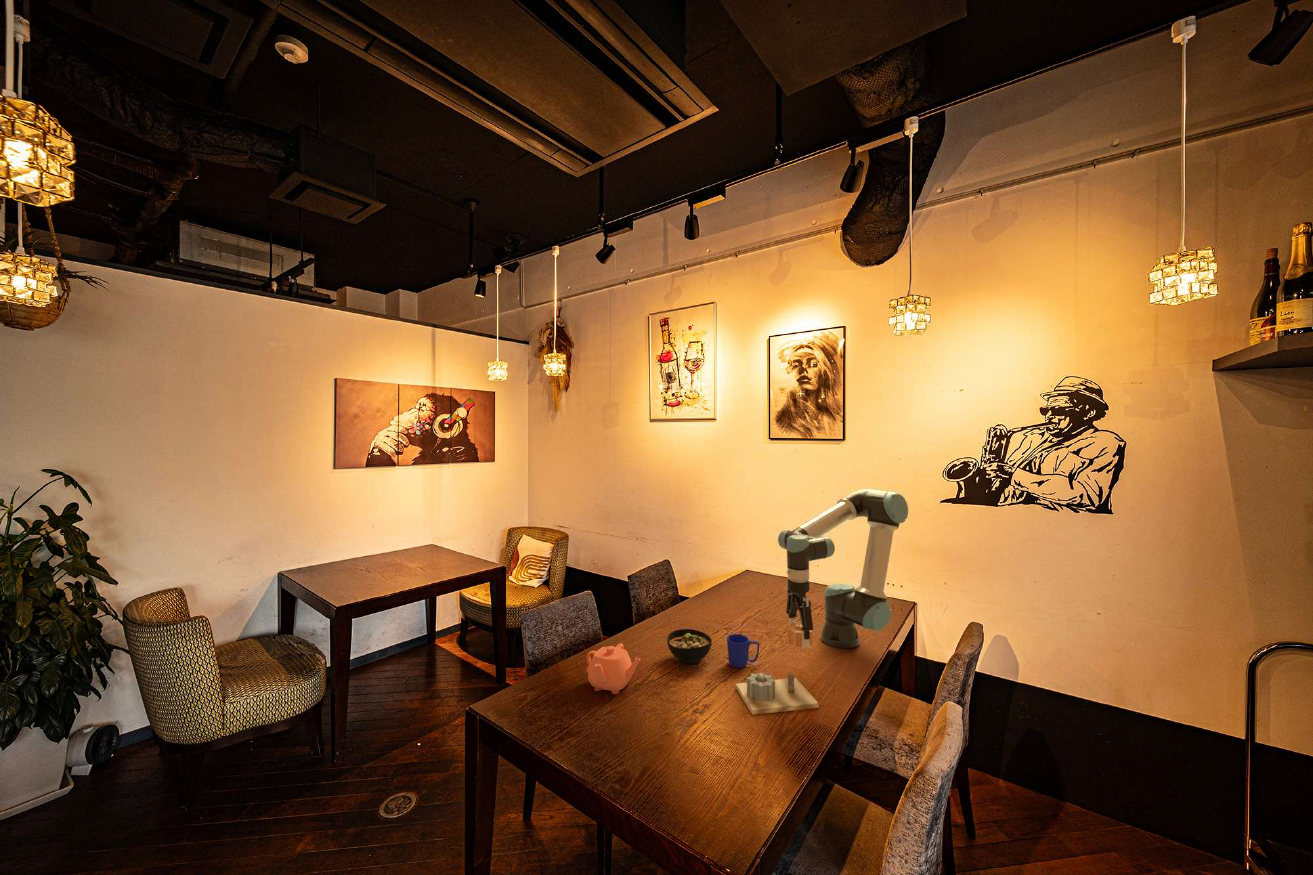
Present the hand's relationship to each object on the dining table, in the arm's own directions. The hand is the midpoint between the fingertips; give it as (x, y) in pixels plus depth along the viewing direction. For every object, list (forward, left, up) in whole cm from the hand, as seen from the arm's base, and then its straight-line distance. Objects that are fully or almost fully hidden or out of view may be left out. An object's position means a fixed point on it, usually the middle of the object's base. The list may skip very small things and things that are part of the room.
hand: (799, 641), depth 175 cm
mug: (+17, -11, -13) cm, 24 cm away
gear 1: (+19, +12, -11) cm, 25 cm away
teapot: (+67, -4, -13) cm, 69 cm away
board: (+14, +12, -12) cm, 23 cm away
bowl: (+36, -18, -13) cm, 43 cm away
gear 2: (0, 0, 0) cm, 0 cm away
